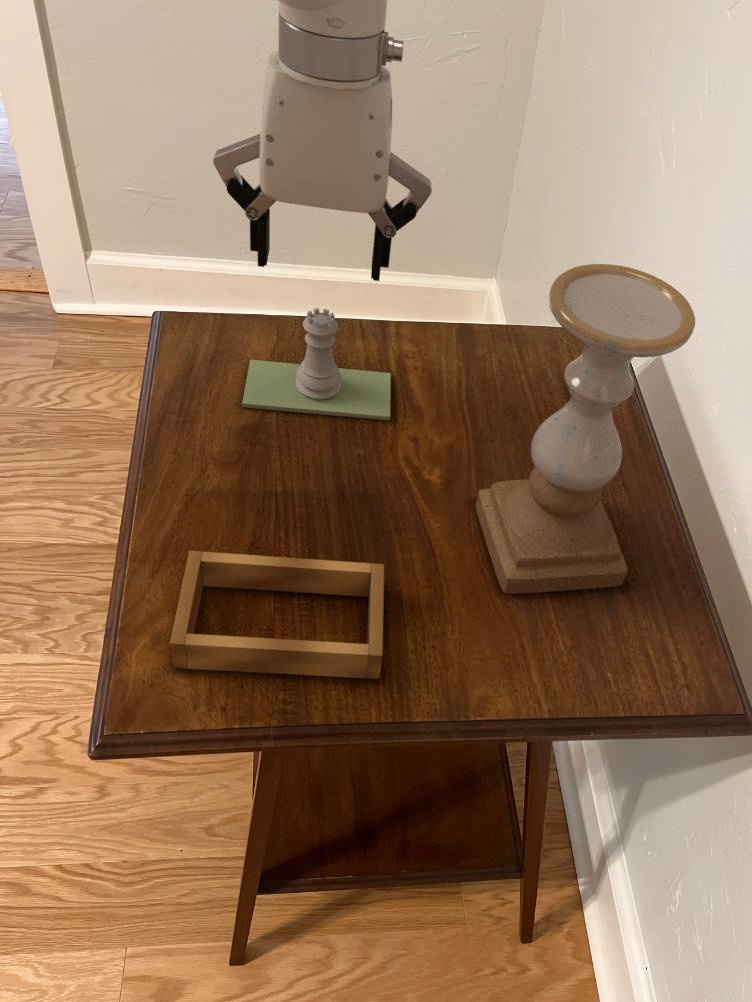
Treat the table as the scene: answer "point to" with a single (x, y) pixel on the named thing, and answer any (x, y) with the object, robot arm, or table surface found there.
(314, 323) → the rook chess piece
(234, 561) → the rectangular wooden frame
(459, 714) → the table surface
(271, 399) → the mat
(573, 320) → the candle holder
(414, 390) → the table surface
